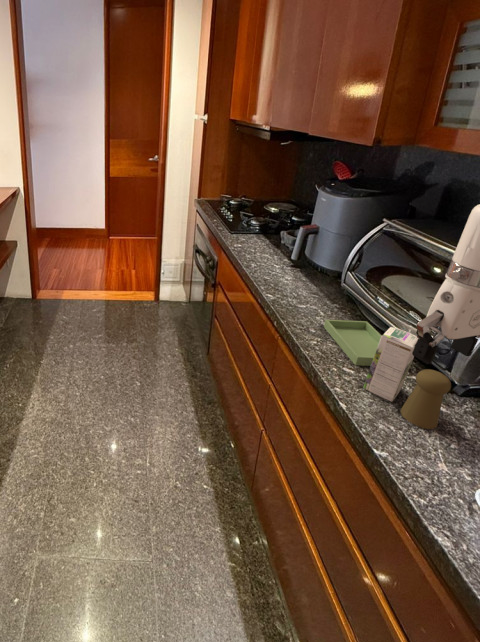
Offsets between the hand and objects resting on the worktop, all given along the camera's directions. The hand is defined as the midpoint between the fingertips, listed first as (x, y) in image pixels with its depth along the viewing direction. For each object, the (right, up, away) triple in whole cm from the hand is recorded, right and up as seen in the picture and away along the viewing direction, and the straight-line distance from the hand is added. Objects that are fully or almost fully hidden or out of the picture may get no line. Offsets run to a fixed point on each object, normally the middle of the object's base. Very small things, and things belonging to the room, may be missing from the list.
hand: (440, 355), depth 74 cm
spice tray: (+4, -5, +28) cm, 29 cm away
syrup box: (-2, -11, +13) cm, 17 cm away
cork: (0, -14, +6) cm, 15 cm away
